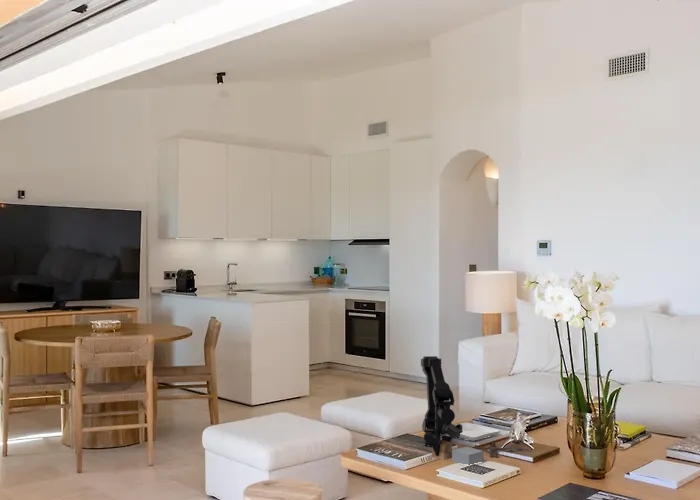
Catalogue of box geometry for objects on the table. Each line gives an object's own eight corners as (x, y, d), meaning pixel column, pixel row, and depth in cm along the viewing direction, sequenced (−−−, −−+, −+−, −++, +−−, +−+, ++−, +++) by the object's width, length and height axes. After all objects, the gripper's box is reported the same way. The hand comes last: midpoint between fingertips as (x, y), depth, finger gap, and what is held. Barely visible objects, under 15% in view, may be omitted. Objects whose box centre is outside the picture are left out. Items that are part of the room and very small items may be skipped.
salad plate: (465, 428, 348) (465, 421, 348) (501, 436, 333) (501, 429, 332) (437, 435, 334) (437, 428, 334) (473, 445, 318) (473, 437, 318)
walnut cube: (439, 453, 302) (439, 439, 302) (451, 456, 298) (451, 442, 298) (431, 456, 298) (431, 442, 298) (443, 459, 294) (443, 445, 294)
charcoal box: (466, 458, 297) (466, 446, 297) (483, 463, 290) (483, 451, 290) (451, 462, 291) (452, 450, 291) (468, 467, 284) (469, 455, 284)
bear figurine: (472, 450, 298) (471, 438, 313) (472, 460, 299) (471, 447, 313) (516, 452, 296) (513, 440, 310) (515, 462, 296) (513, 449, 310)
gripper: (445, 424, 286) (445, 463, 286) (470, 416, 300) (470, 453, 300) (423, 419, 293) (422, 457, 293) (448, 412, 307) (447, 448, 307)
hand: (441, 454), depth 298 cm, fingers closed on walnut cube, 6 cm apart
